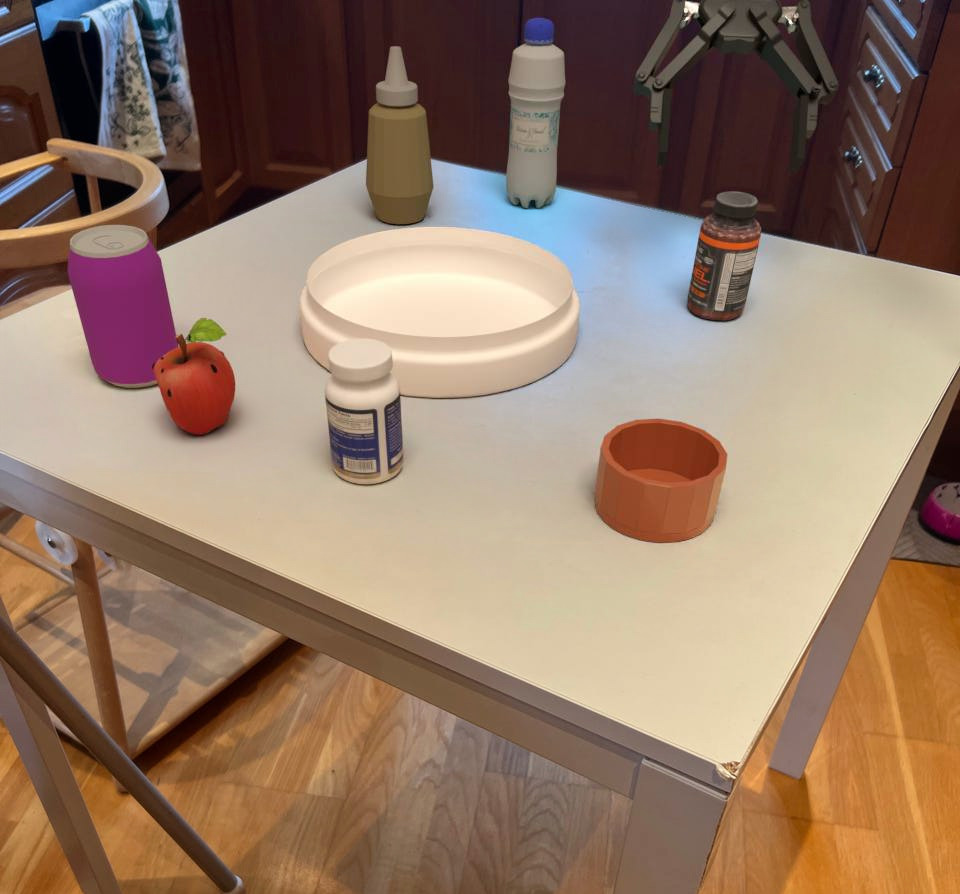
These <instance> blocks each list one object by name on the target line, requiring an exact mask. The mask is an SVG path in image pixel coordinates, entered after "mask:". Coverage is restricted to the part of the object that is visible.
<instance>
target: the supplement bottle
mask: <svg viewBox="0 0 960 894" xmlns="http://www.w3.org/2000/svg"><path fill="white" fill-rule="evenodd" d="M758 203H759V201H758V199H757V197H756V196H755V195H752V194H750V193H747V192H743V191H735V190H734V191H733V190H732V191H723V192H720V193H718V194H717V195H716V197H715V201H714V206H713V211H712V213H711V214H709V215H707V216H706V217H705V218H704V219H703V220H702V222H701V224H700V229H699V234H698V237H697V245H696V249H695V255H694V260H693V261H694V262H693V265H692V266H693V267H692V272H691V278H690V281H689V288H688V294H687V302H686V304H687V308H688V309H689V310H690V312H691V313H692V314H694V315H696V316H698V317H700V318H703V319H706V320H710V321H721V322H722V321H729V320H734V319H736V318H738V317H740V316H741V315H742V314H743V312H744V310H745V306H746V302H747V299H748V294H749V289H750V286H751V282H752V276H753V273H754V268H755V263H756V258H757V255H758V249H759V244H760V241H761V236H762V227H761V224H760V223H759V221H758V220H757V219H756V218H755V216H756V214H757V207H758Z"/></svg>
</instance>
